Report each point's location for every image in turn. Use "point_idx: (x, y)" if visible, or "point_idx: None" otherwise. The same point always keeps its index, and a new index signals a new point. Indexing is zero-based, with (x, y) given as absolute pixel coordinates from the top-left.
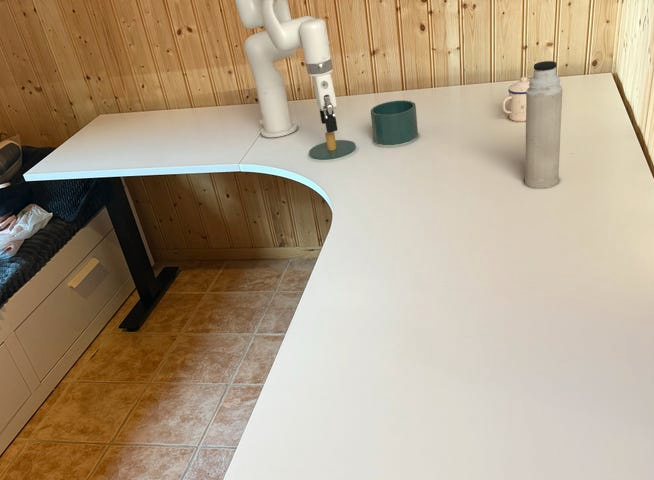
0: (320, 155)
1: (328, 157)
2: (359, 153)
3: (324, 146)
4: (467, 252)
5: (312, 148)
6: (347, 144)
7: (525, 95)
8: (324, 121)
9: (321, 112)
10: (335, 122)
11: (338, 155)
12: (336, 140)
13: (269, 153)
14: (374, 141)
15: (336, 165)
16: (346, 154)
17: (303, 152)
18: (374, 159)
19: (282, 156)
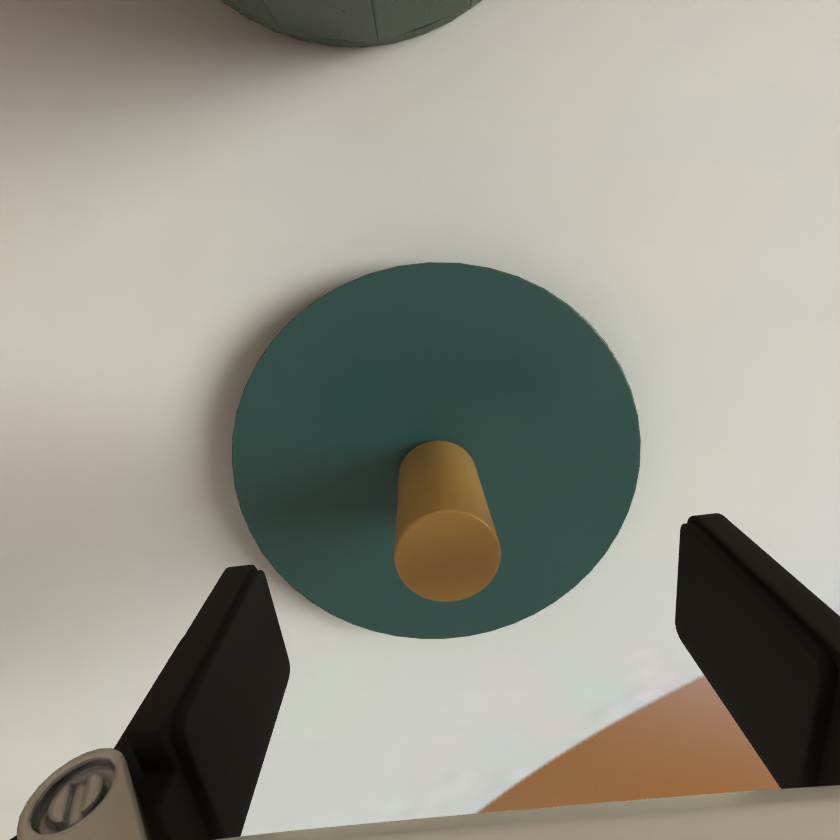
0: (545, 565)
1: (627, 510)
2: (578, 240)
3: (350, 533)
4: None
5: (354, 616)
6: (395, 340)
7: None
8: (278, 665)
9: (234, 821)
10: (794, 594)
11: (633, 432)
12: (240, 433)
13: (253, 826)
14: (385, 38)
15: (732, 446)
16: (616, 362)
17: (328, 654)
18: (819, 105)
19: (344, 764)
